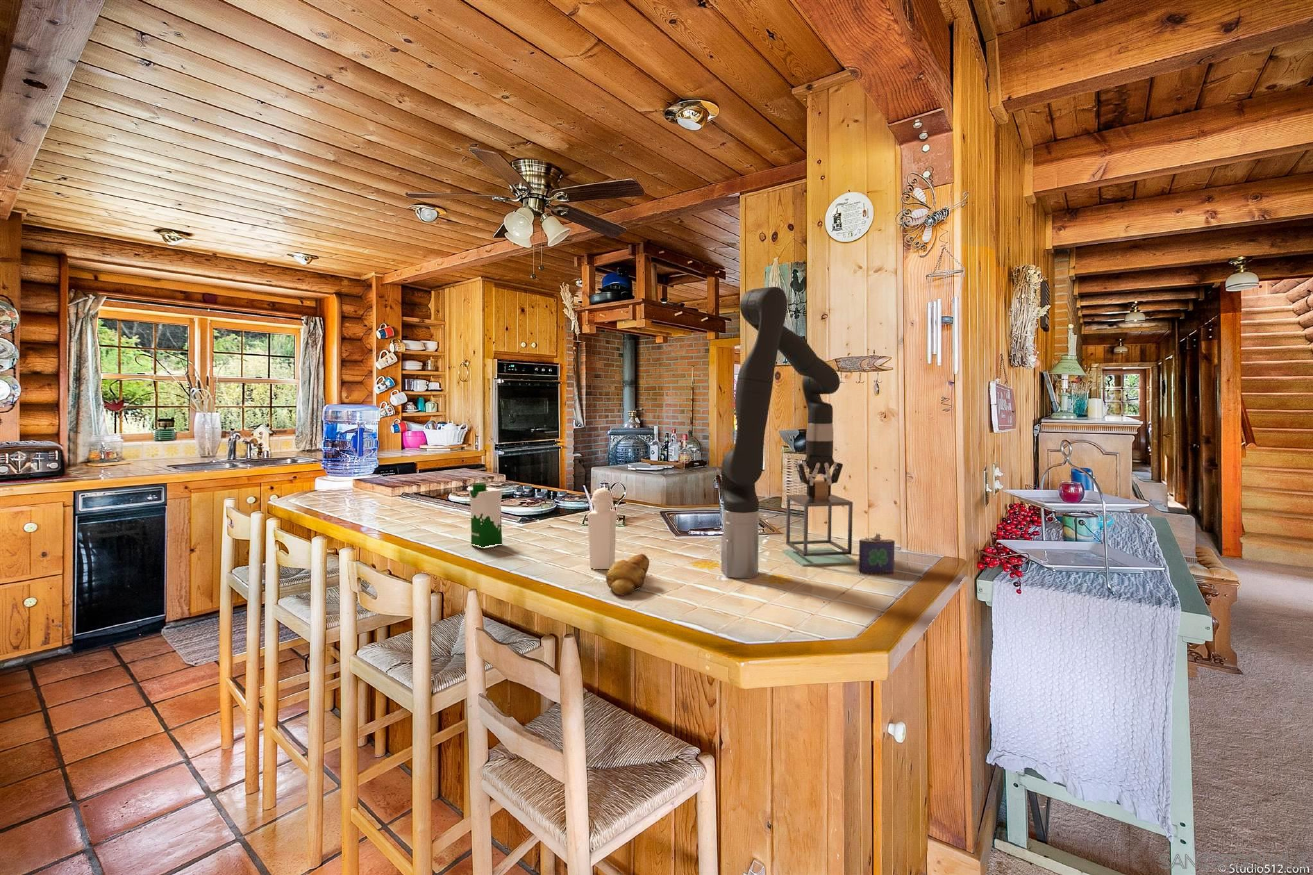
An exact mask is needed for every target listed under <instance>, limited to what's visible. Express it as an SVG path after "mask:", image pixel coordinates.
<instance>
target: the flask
mask: <svg viewBox="0 0 1313 875" xmlns="http://www.w3.org/2000/svg"><path fill="white" fill-rule="evenodd" d="M858 542H859V544H858V545H859V546H858V548H859V551H858V553H859V554H858V560H859V561H858V572H860V573H859V574H862V575H894V573H895V546H896V545H895V544H896V543H895V540H893V539H890V538H888V539H882V535H881V534H880V533H875V536H874V537H865V538H862V539H859V541H858Z"/></svg>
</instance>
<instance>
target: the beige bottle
mask: <svg viewBox="0 0 1313 875" xmlns="http://www.w3.org/2000/svg"><path fill="white" fill-rule="evenodd" d="M590 502H591V503H592V505H593V509H594V510H591V512H589V513H588V514H587V526H588V527H587V528H588V551H589V569H590V568H595V569H610V568H611V566H612V565H613V564H614V562H616V560H615V559H616V536H617V535H616V534H617V532H616V531H617V530H616V529H617V528H616V527H617V511H616V510H615V509H611V504H612V503H613V502H614V498H613V496H612V493H611V492H610V490H608V489H607V488H603V487H601V488H597V489H596V490H595V491H593V494H592V496H591V499H590Z"/></svg>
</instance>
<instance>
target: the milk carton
mask: <svg viewBox="0 0 1313 875" xmlns="http://www.w3.org/2000/svg"><path fill="white" fill-rule="evenodd" d="M468 495H469V503H470V528H471V529H470V530H471V532H470V540H471V541H470V545H471V544H475V545H479V546H481V547H485V546H489V545H495V544H502V545H503V533H502V532H503V531H502V496H503V489H500V488H494V487H487V484H486V483H485V482H478V483H477V482H476V483H473V484H472V489H468Z"/></svg>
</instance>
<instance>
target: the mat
mask: <svg viewBox="0 0 1313 875" xmlns="http://www.w3.org/2000/svg"><path fill="white" fill-rule="evenodd" d="M800 549H801V550H804V548H800ZM835 551H837V549H834V548H833V547H822V548H821V547H819V548H814V547H813V548H807V553H812V552H835ZM781 552H782V553H783V552H784V553H783V554H784V555H786V556H788V557H789V558H791V559H792V560H793V561H794V562H796V561H797V562H796V563H797V564H799V565H801V566H802V567H811V566H812V567H814V566H816V567H817V566H834V565H855V564H856V563H858V562H857V561H856V560H854V559H852V558H850V557H849V556H847V555H826V556H803V555H802V554H800V553H799V552H797V551H796V550H794V549H793V548H791V549H782V550H781ZM856 565H857V564H856Z"/></svg>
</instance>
